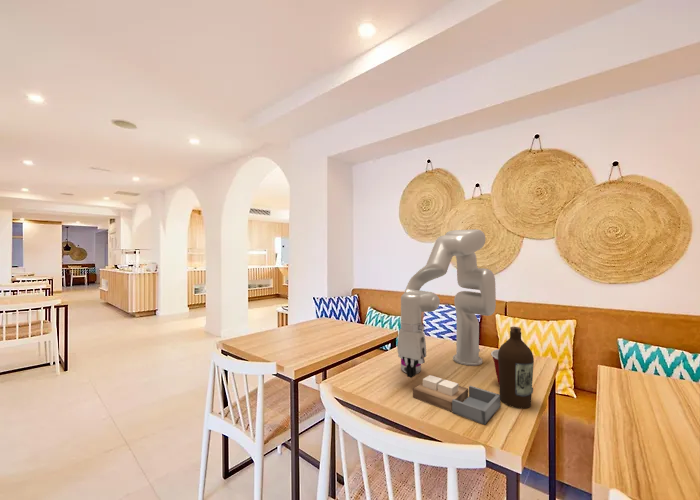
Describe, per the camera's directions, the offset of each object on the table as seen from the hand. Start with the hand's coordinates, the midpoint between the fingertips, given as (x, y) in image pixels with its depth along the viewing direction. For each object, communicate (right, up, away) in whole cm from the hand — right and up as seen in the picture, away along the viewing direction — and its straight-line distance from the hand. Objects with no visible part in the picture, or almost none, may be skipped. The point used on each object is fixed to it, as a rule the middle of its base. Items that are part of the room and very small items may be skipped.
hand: (411, 375), depth 118 cm
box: (+18, -4, -16) cm, 25 cm away
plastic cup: (+36, -4, +1) cm, 36 cm away
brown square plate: (+9, -4, -8) cm, 12 cm away
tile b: (+11, -1, -10) cm, 15 cm away
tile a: (+6, -1, -6) cm, 9 cm away
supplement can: (+3, -4, +15) cm, 16 cm away
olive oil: (+33, -4, -11) cm, 35 cm away
